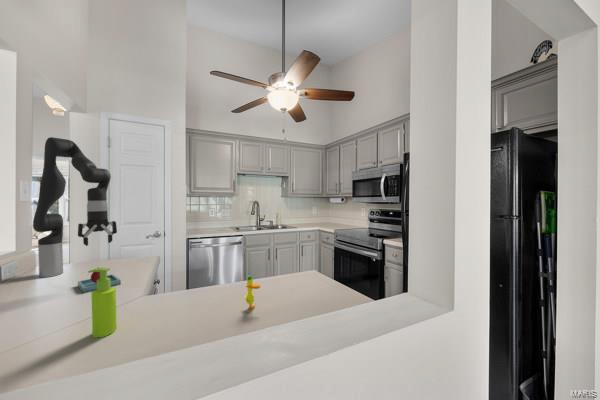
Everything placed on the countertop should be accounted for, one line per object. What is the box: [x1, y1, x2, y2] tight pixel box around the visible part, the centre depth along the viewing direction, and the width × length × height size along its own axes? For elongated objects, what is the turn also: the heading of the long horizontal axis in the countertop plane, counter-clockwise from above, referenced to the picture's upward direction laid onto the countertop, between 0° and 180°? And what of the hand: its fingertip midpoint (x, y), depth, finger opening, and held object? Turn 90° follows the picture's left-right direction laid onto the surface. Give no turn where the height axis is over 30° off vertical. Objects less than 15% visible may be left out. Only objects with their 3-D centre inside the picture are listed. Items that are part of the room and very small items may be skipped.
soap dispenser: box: [87, 267, 118, 339], centre depth 76 cm, size 6×7×20 cm
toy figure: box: [243, 275, 261, 310], centre depth 92 cm, size 7×4×12 cm, turn 77°
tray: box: [77, 273, 122, 294], centre depth 117 cm, size 14×14×2 cm
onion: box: [90, 267, 100, 284], centre depth 117 cm, size 6×6×8 cm
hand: (98, 244), depth 117 cm, fingers open, 8 cm apart
